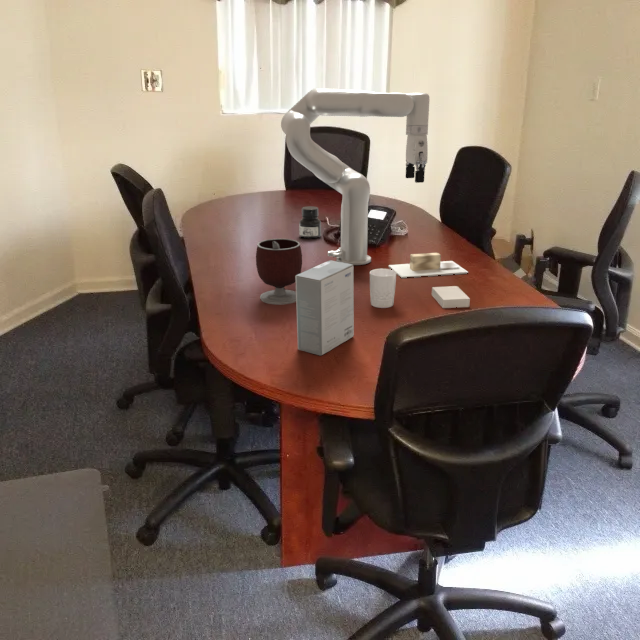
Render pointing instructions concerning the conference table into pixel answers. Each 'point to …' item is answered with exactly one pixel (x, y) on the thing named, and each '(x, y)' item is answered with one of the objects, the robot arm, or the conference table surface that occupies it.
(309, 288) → the hard drive box
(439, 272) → the mat
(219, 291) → the conference table surface
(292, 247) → the mate gourd
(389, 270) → the white cup
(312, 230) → the ink bottle
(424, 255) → the cream block on base
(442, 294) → the tile
